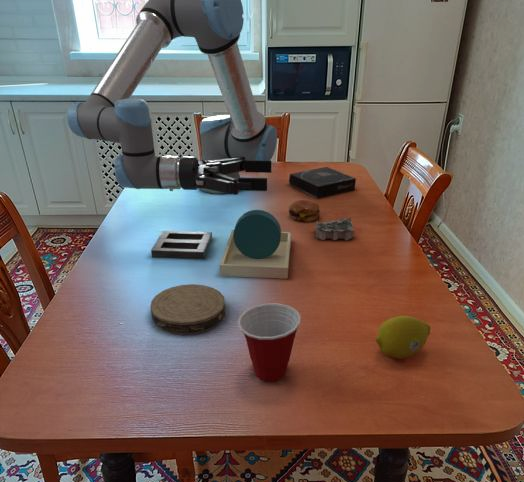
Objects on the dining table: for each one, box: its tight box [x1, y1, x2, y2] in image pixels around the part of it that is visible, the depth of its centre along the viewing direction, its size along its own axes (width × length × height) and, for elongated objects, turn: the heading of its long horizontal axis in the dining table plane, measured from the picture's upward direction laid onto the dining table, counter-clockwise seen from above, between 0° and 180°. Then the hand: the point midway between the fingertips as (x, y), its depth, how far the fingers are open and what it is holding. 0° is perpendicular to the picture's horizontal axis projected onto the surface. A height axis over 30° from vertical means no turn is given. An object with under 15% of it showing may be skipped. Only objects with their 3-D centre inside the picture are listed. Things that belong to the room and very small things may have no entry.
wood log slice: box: [150, 283, 227, 336], centre depth 105 cm, size 16×16×3 cm
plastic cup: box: [237, 302, 302, 383], centre depth 87 cm, size 11×11×12 cm
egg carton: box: [315, 217, 355, 241], centre depth 139 cm, size 11×8×4 cm
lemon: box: [375, 315, 431, 360], centre depth 92 cm, size 11×8×8 cm
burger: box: [288, 198, 321, 223], centre depth 150 cm, size 10×9×5 cm
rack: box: [150, 230, 213, 260], centre depth 133 cm, size 14×13×2 cm
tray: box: [219, 229, 292, 280], centre depth 128 cm, size 22×17×3 cm
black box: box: [288, 166, 357, 199], centre depth 173 cm, size 16×17×4 cm
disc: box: [233, 209, 282, 259], centre depth 125 cm, size 12×3×12 cm, turn 85°
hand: (269, 175), depth 115 cm, fingers open, 13 cm apart
